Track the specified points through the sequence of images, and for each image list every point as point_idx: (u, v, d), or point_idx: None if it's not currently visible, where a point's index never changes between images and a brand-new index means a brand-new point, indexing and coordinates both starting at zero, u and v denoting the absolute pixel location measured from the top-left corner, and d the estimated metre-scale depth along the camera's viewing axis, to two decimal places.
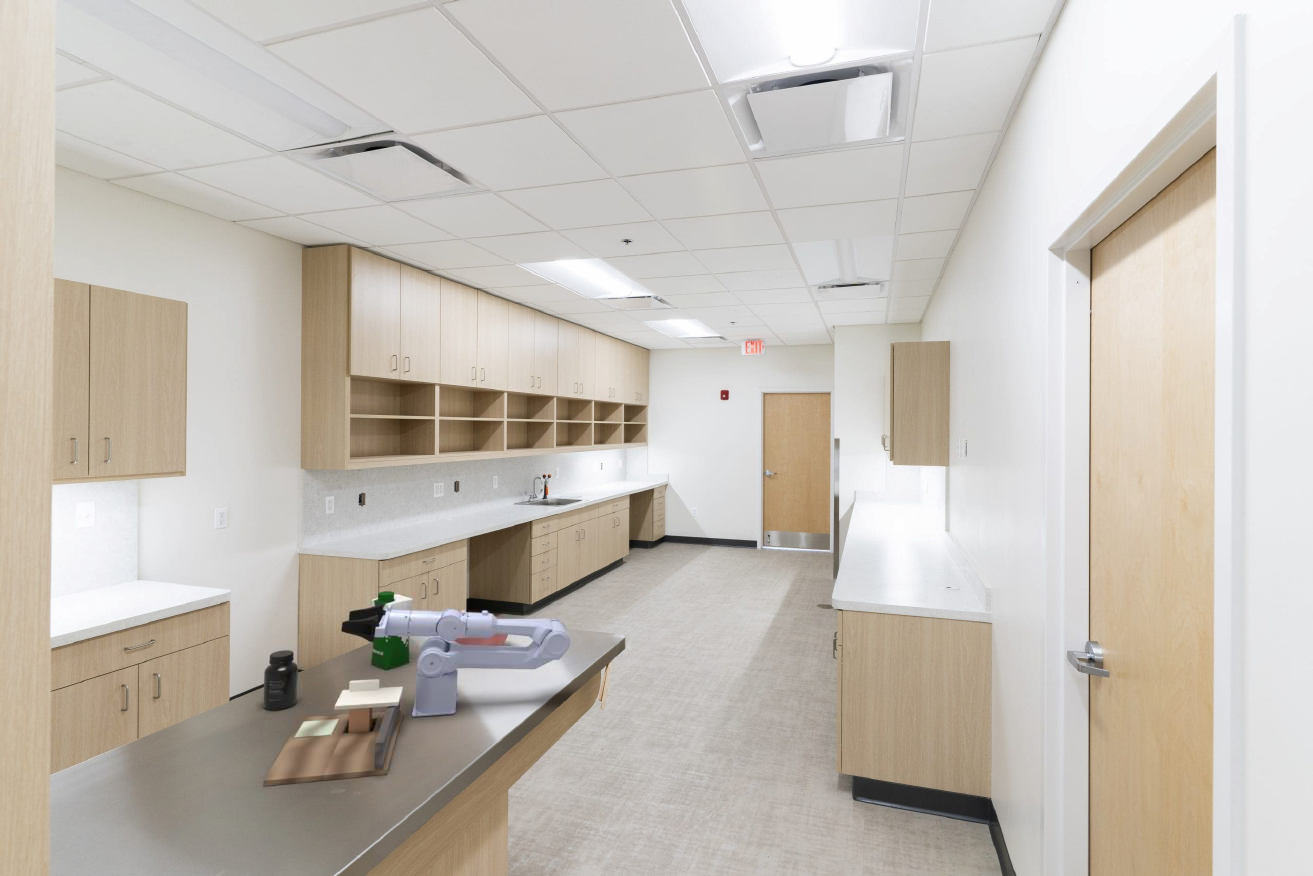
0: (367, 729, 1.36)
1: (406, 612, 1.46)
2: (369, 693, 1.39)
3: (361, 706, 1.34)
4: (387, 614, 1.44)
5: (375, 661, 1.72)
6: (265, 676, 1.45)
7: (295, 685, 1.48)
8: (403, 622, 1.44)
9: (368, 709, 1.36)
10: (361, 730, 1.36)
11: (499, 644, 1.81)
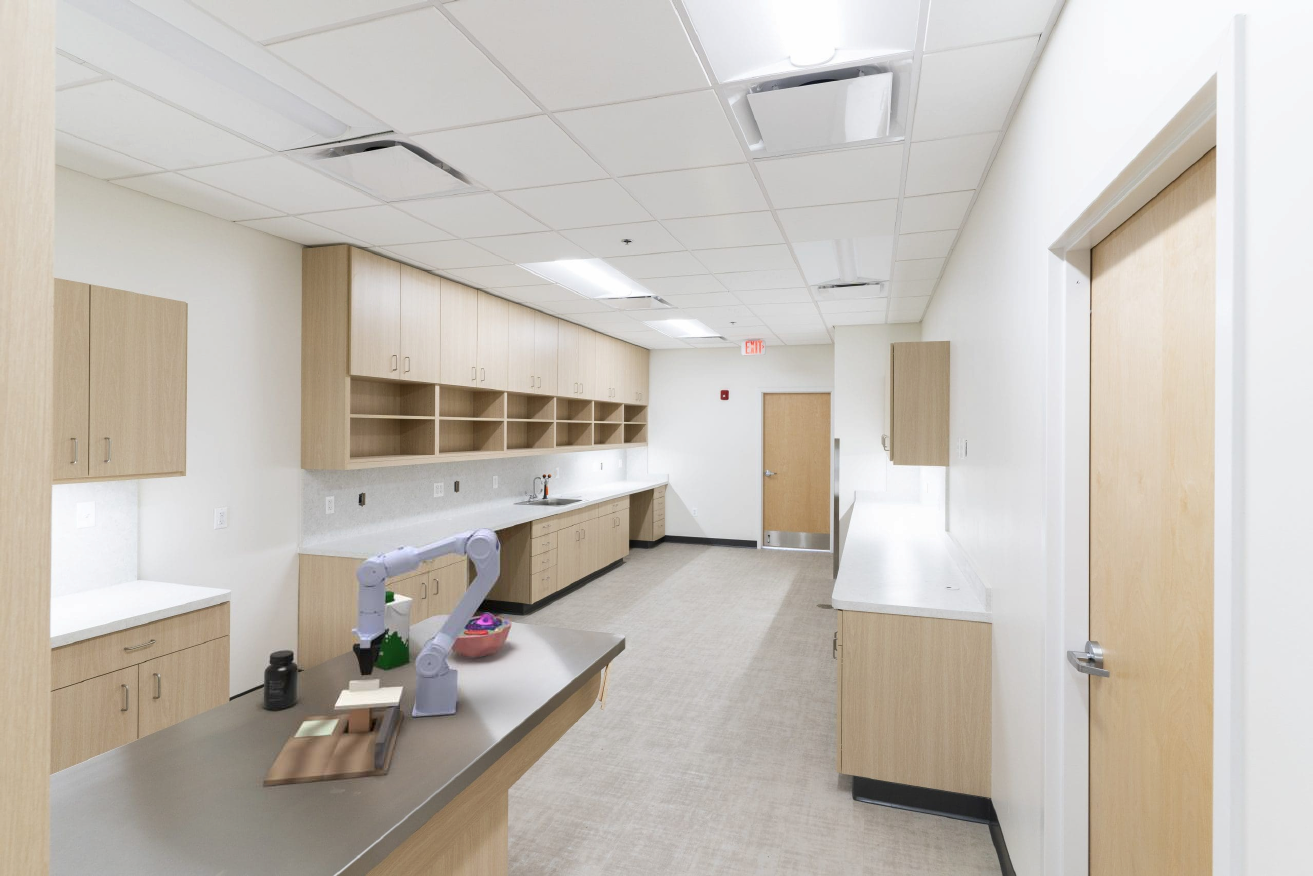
0: (367, 729, 1.36)
1: None
2: (369, 693, 1.39)
3: (361, 706, 1.34)
4: (357, 633, 1.44)
5: None
6: (265, 676, 1.45)
7: (295, 685, 1.48)
8: (364, 618, 1.43)
9: (368, 709, 1.36)
10: (361, 730, 1.36)
11: (499, 644, 1.81)
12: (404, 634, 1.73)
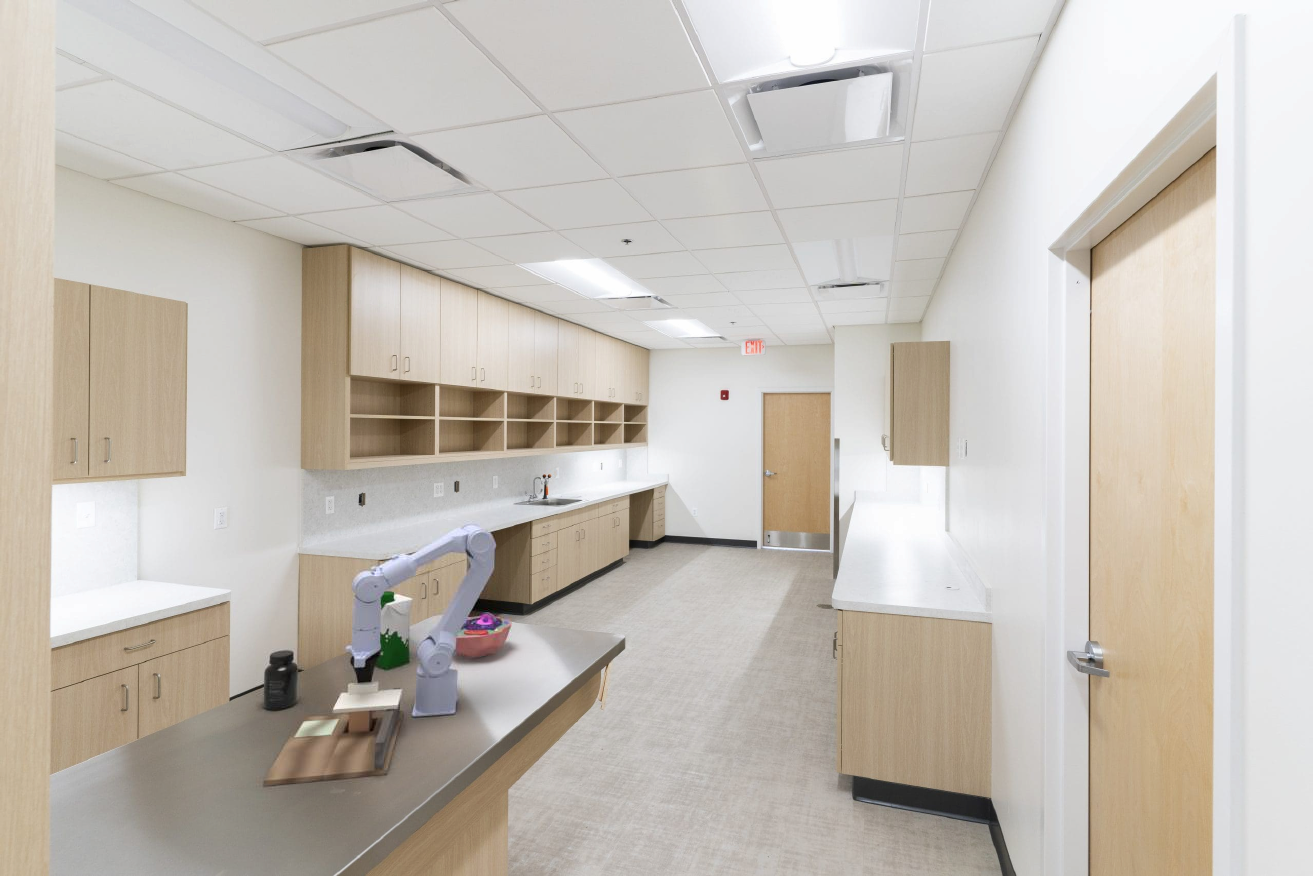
0: (367, 729, 1.36)
1: (352, 632, 1.39)
2: (368, 696, 1.38)
3: (360, 709, 1.32)
4: (351, 651, 1.38)
5: None
6: (265, 676, 1.45)
7: (295, 685, 1.48)
8: (359, 635, 1.38)
9: None
10: (361, 730, 1.36)
11: (499, 644, 1.81)
12: (404, 634, 1.73)
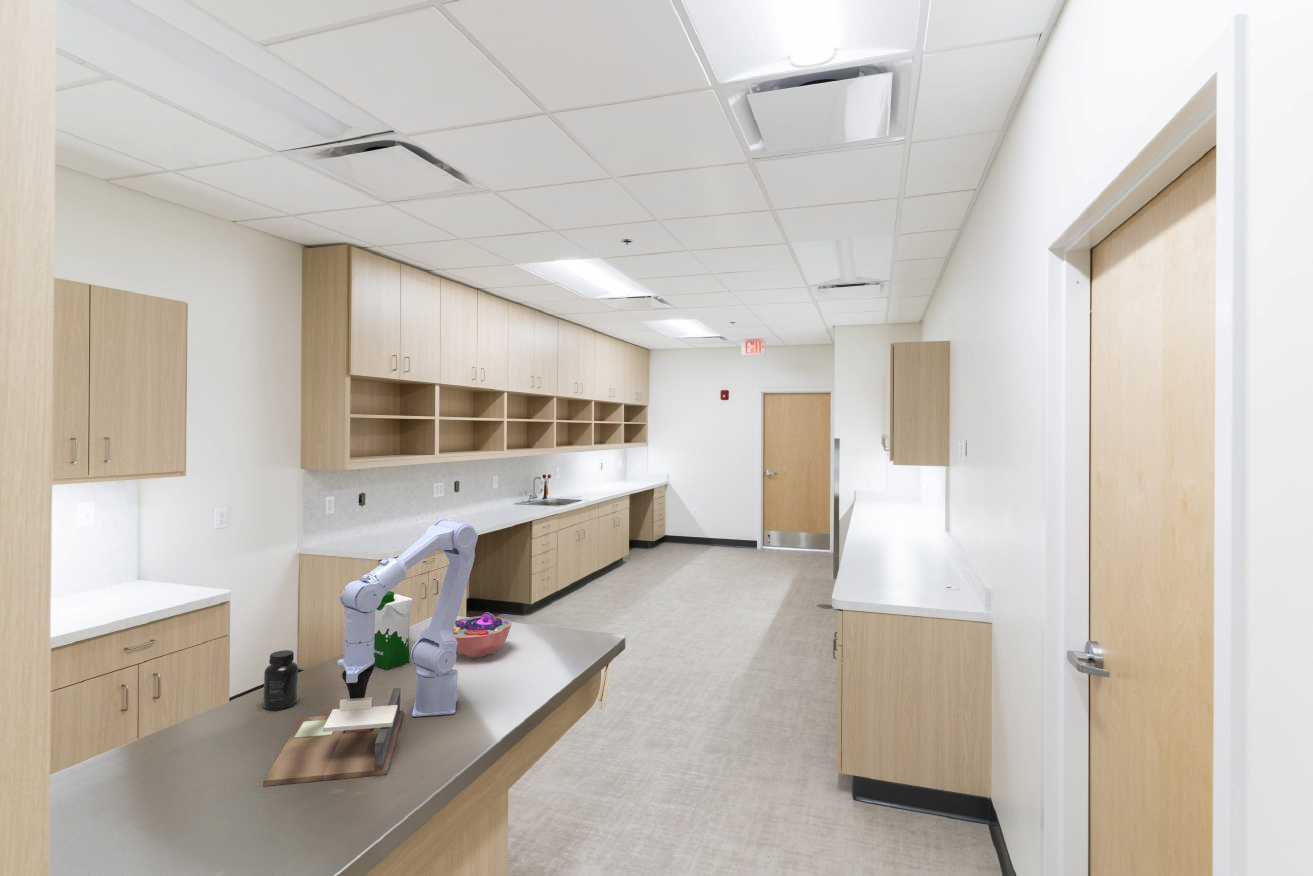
0: (367, 729, 1.36)
1: (344, 644, 1.31)
2: (361, 713, 1.30)
3: (352, 727, 1.25)
4: (343, 665, 1.30)
5: (375, 661, 1.72)
6: (265, 676, 1.45)
7: (295, 685, 1.48)
8: (352, 648, 1.30)
9: None
10: (361, 730, 1.36)
11: (499, 644, 1.81)
12: (404, 634, 1.73)
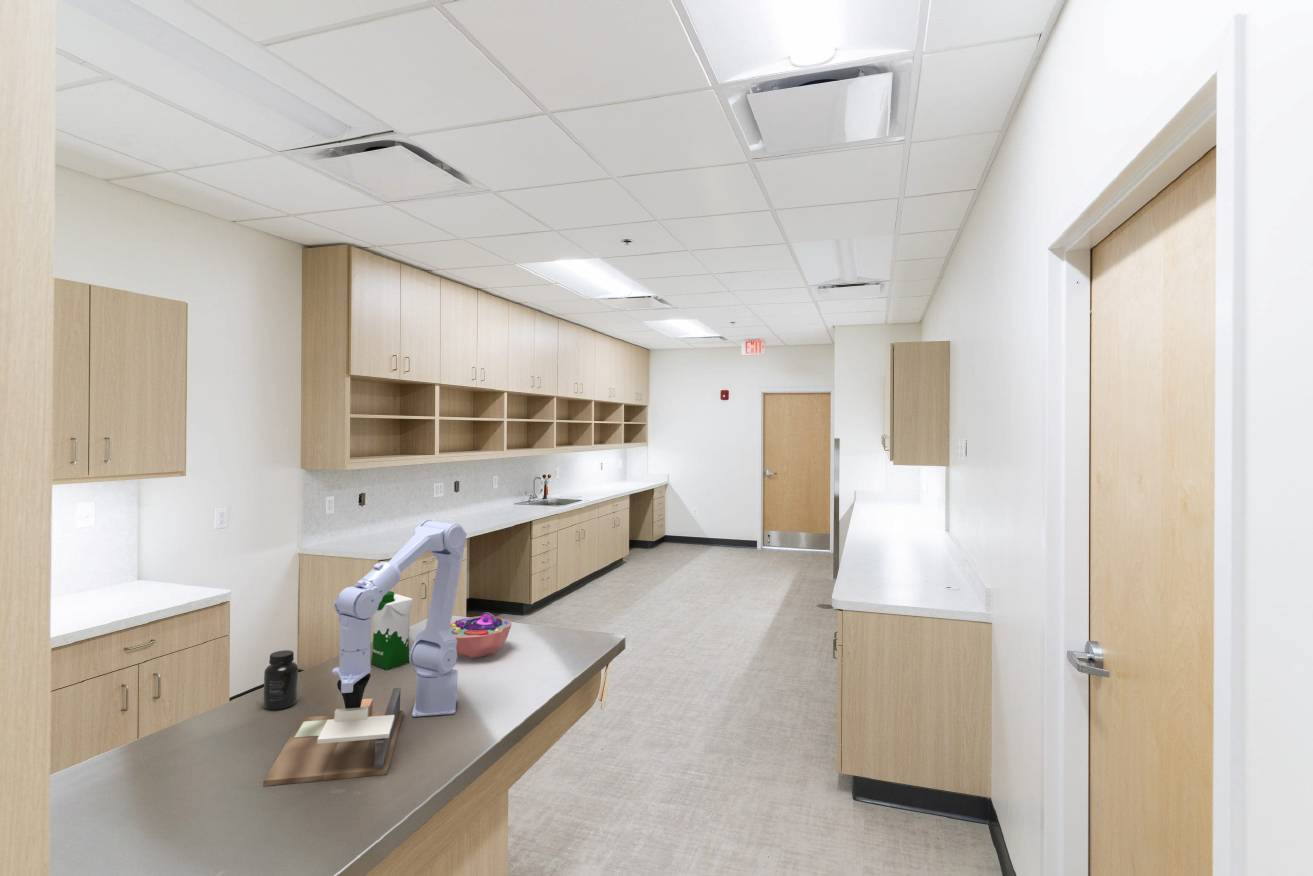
0: None
1: (339, 653, 1.27)
2: (356, 723, 1.25)
3: (347, 739, 1.20)
4: (338, 674, 1.26)
5: (375, 661, 1.72)
6: (265, 676, 1.45)
7: (295, 685, 1.48)
8: (347, 657, 1.26)
9: (368, 709, 1.36)
10: None
11: (499, 644, 1.81)
12: (404, 634, 1.73)
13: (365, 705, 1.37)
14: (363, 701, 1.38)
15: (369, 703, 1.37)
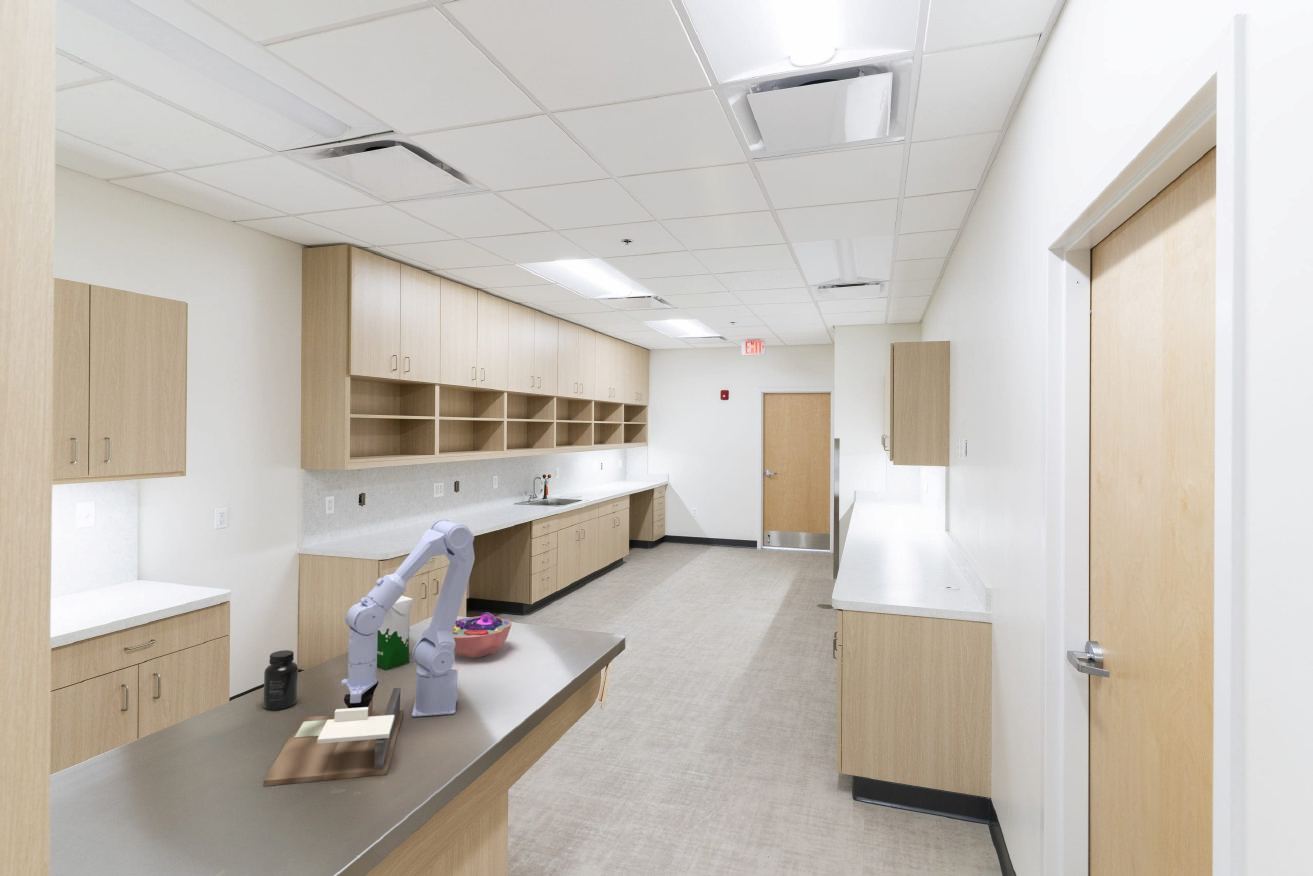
0: None
1: (348, 665, 1.36)
2: (356, 723, 1.25)
3: (347, 739, 1.20)
4: (347, 685, 1.35)
5: None
6: (265, 676, 1.45)
7: (295, 685, 1.48)
8: (355, 669, 1.34)
9: (368, 709, 1.36)
10: None
11: (499, 644, 1.81)
12: (404, 634, 1.73)
13: None
14: None
15: (369, 703, 1.37)
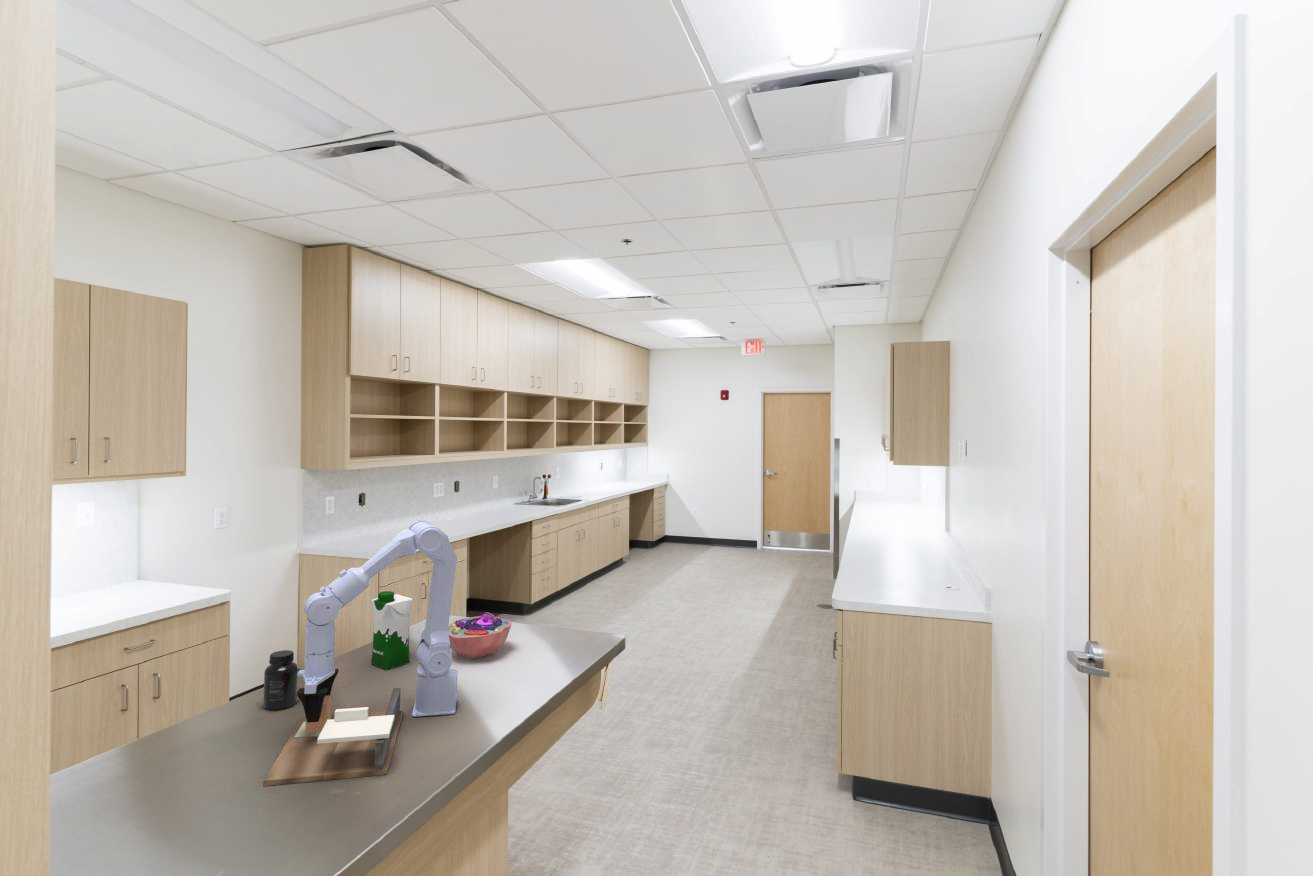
0: None
1: (304, 656, 1.33)
2: (356, 723, 1.25)
3: (347, 739, 1.20)
4: (303, 676, 1.32)
5: (375, 661, 1.72)
6: (265, 676, 1.45)
7: (295, 685, 1.48)
8: (311, 659, 1.32)
9: (326, 706, 1.34)
10: (318, 727, 1.34)
11: (499, 644, 1.81)
12: (404, 634, 1.73)
13: (323, 702, 1.34)
14: None
15: (327, 700, 1.35)
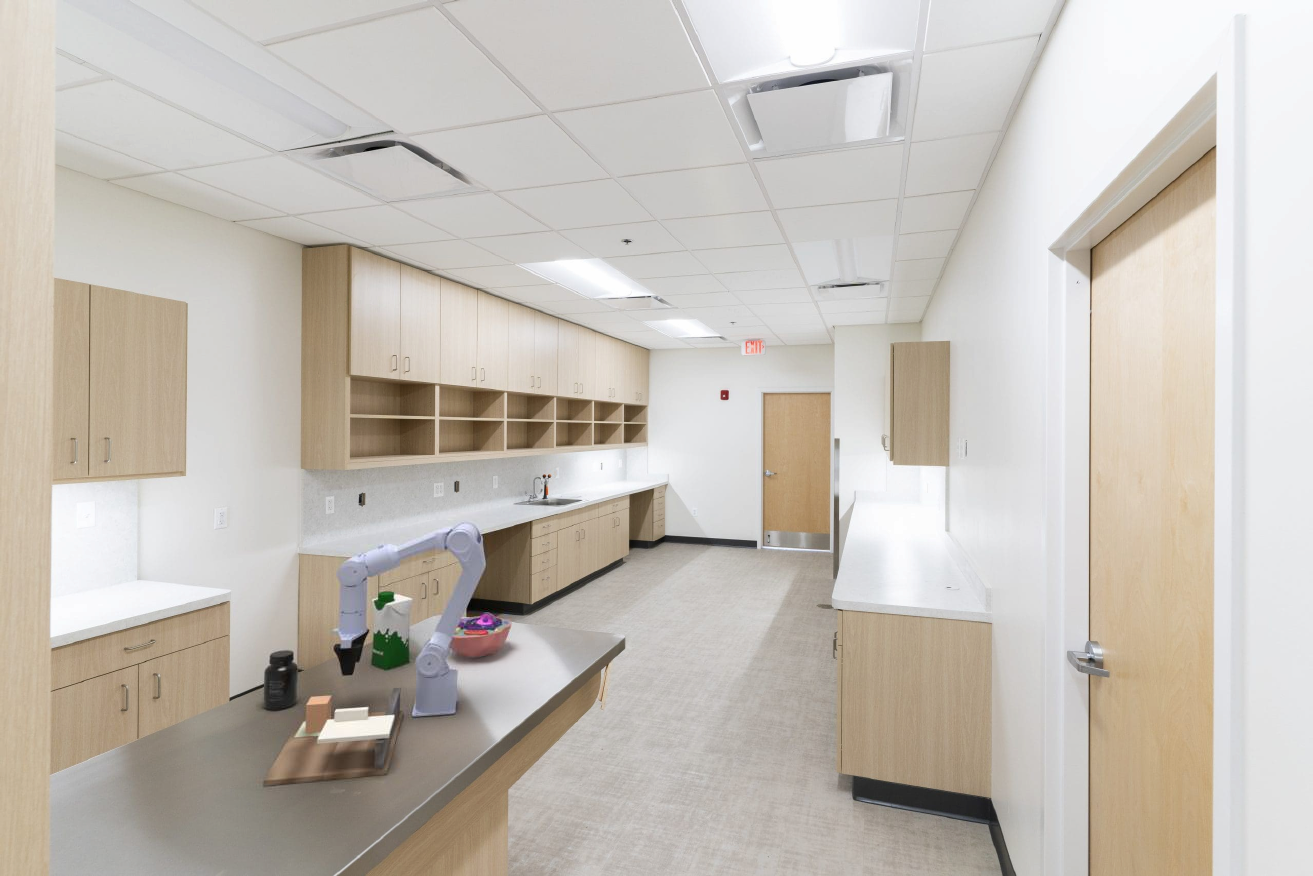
0: None
1: (339, 615, 1.44)
2: (356, 723, 1.25)
3: (347, 739, 1.20)
4: (338, 633, 1.43)
5: (375, 661, 1.72)
6: (265, 676, 1.45)
7: (295, 685, 1.48)
8: (346, 618, 1.43)
9: (326, 706, 1.34)
10: (318, 727, 1.34)
11: (499, 644, 1.81)
12: (404, 634, 1.73)
13: (323, 702, 1.34)
14: (321, 698, 1.36)
15: (327, 700, 1.35)
